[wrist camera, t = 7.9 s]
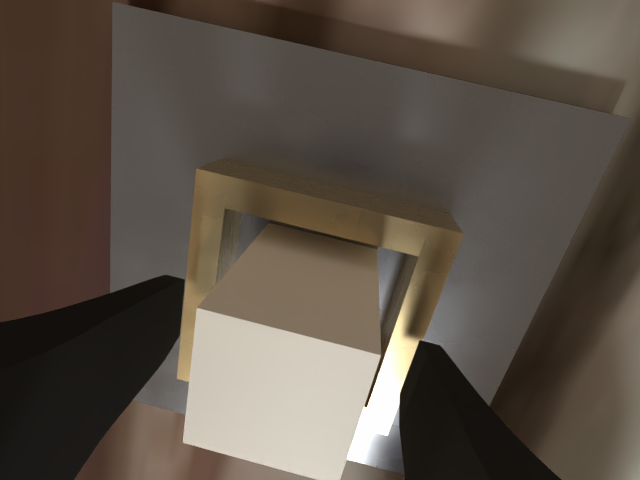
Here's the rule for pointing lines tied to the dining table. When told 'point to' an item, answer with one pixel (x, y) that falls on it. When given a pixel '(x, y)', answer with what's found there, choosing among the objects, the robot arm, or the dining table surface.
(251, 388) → the cream block
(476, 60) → the dining table surface
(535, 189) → the socket plate
